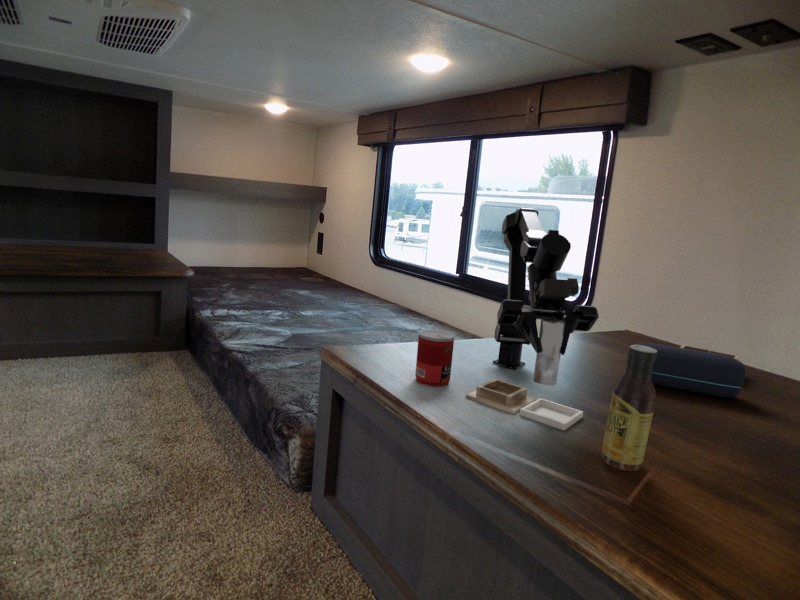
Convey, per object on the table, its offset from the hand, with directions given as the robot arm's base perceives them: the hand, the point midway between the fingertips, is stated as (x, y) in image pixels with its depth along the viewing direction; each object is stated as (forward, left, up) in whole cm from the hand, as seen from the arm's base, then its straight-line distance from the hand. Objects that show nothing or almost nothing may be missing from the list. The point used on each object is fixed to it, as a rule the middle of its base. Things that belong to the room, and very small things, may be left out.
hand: (550, 353), depth 96 cm
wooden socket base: (-1, -10, -13) cm, 16 cm away
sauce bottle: (+8, +17, -13) cm, 23 cm away
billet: (-1, -1, -6) cm, 6 cm away
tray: (-1, +1, -13) cm, 13 cm away
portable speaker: (-46, +15, -14) cm, 50 cm away
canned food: (0, -27, -13) cm, 30 cm away
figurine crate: (-69, +16, -13) cm, 72 cm away
